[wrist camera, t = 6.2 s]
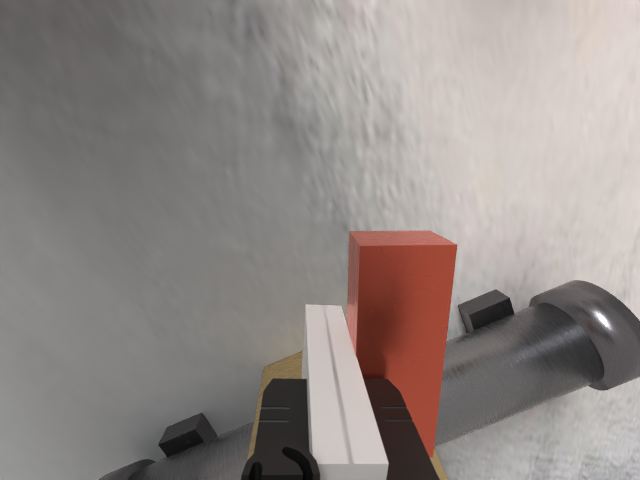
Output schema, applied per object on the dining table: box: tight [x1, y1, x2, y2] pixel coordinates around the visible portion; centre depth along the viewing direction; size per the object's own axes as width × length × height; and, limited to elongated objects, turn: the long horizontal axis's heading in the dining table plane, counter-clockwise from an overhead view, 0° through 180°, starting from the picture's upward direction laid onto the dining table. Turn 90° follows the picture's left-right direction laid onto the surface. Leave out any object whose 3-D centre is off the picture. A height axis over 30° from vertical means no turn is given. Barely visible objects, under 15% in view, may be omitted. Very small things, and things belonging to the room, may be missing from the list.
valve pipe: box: [99, 280, 640, 480], centre depth 18 cm, size 8×34×11 cm, turn 114°
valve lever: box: [347, 231, 457, 458], centre depth 11 cm, size 16×3×2 cm, turn 0°
